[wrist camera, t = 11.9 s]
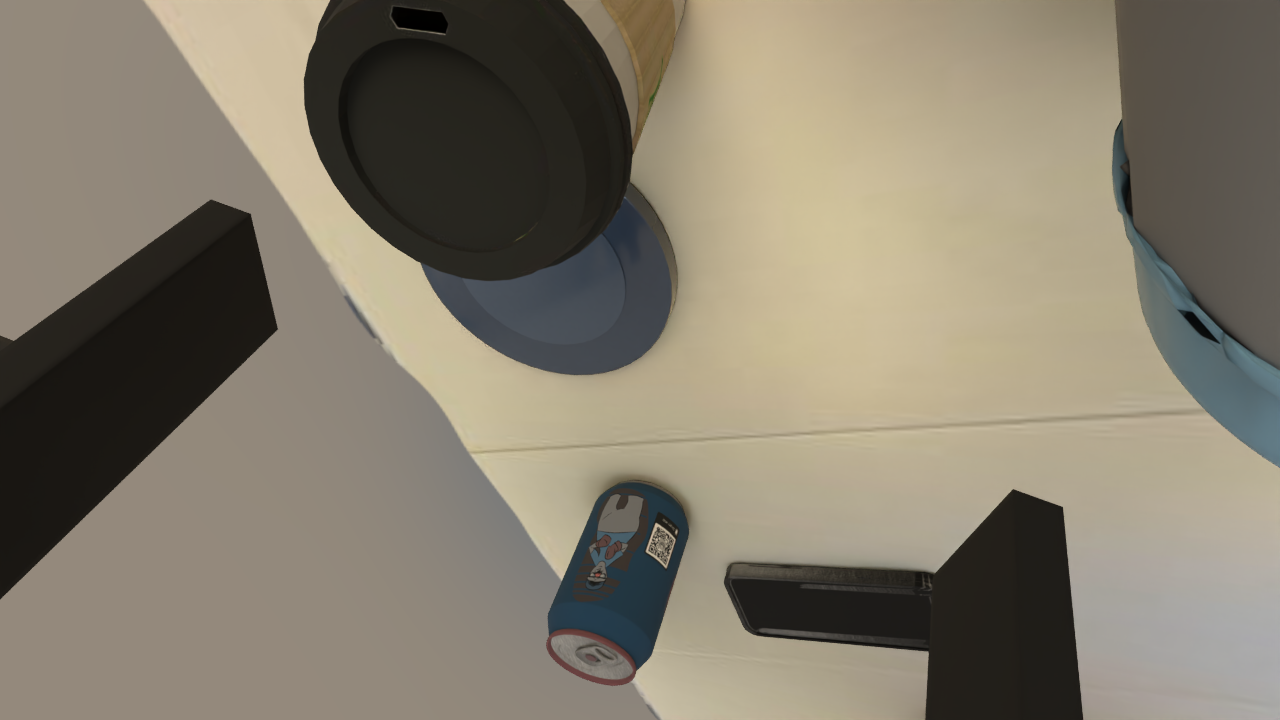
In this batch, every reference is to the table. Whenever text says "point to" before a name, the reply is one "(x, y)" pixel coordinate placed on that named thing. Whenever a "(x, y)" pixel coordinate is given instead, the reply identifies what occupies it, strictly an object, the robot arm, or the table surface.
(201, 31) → the table surface
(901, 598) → the phone
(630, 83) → the coffee cup
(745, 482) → the table surface
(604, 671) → the soda can
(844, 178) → the table surface
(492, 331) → the plate
